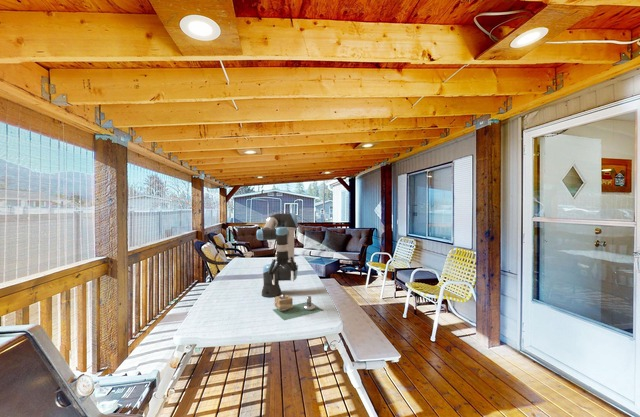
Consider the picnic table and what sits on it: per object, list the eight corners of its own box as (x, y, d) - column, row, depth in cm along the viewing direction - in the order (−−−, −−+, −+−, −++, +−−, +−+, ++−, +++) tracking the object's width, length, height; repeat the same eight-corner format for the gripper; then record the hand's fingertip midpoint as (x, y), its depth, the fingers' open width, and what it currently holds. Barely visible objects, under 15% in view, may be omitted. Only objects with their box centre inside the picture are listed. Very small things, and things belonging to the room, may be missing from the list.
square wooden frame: (274, 305, 192) (274, 297, 192) (287, 303, 197) (286, 294, 197) (279, 310, 185) (279, 301, 185) (292, 307, 189) (292, 298, 189)
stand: (276, 309, 192) (276, 294, 192) (286, 306, 196) (286, 292, 195) (280, 312, 186) (280, 297, 186) (290, 310, 190) (290, 295, 189)
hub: (301, 308, 193) (301, 296, 193) (311, 305, 197) (311, 294, 197) (306, 311, 186) (306, 299, 186) (317, 309, 190) (317, 297, 190)
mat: (272, 310, 191) (272, 309, 191) (309, 301, 205) (309, 301, 205) (284, 321, 174) (284, 320, 174) (323, 311, 188) (323, 310, 188)
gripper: (266, 253, 180) (267, 287, 181) (301, 249, 193) (302, 280, 193) (262, 251, 187) (263, 284, 187) (296, 247, 199) (297, 278, 200)
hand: (283, 282), depth 190 cm, fingers open, 13 cm apart
